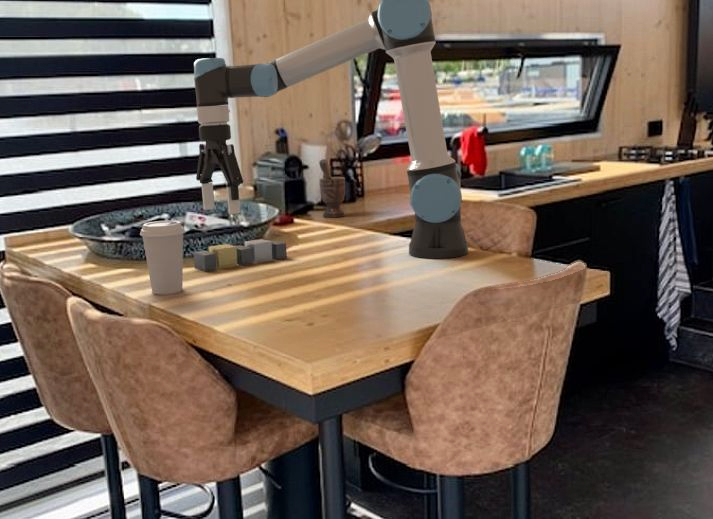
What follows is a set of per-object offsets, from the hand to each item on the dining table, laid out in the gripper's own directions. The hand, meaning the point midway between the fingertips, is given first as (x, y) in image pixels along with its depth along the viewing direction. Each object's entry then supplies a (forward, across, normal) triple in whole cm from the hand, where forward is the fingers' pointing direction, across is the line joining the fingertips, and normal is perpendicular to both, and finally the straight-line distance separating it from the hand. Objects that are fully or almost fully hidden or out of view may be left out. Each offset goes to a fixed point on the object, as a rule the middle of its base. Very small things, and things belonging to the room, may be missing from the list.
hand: (221, 211), depth 208 cm
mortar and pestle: (+14, +48, -66) cm, 83 cm away
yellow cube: (+14, 0, 0) cm, 14 cm away
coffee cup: (+14, -16, +22) cm, 31 cm away
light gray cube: (+14, 0, -10) cm, 17 cm away
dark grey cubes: (+14, 0, -5) cm, 14 cm away
